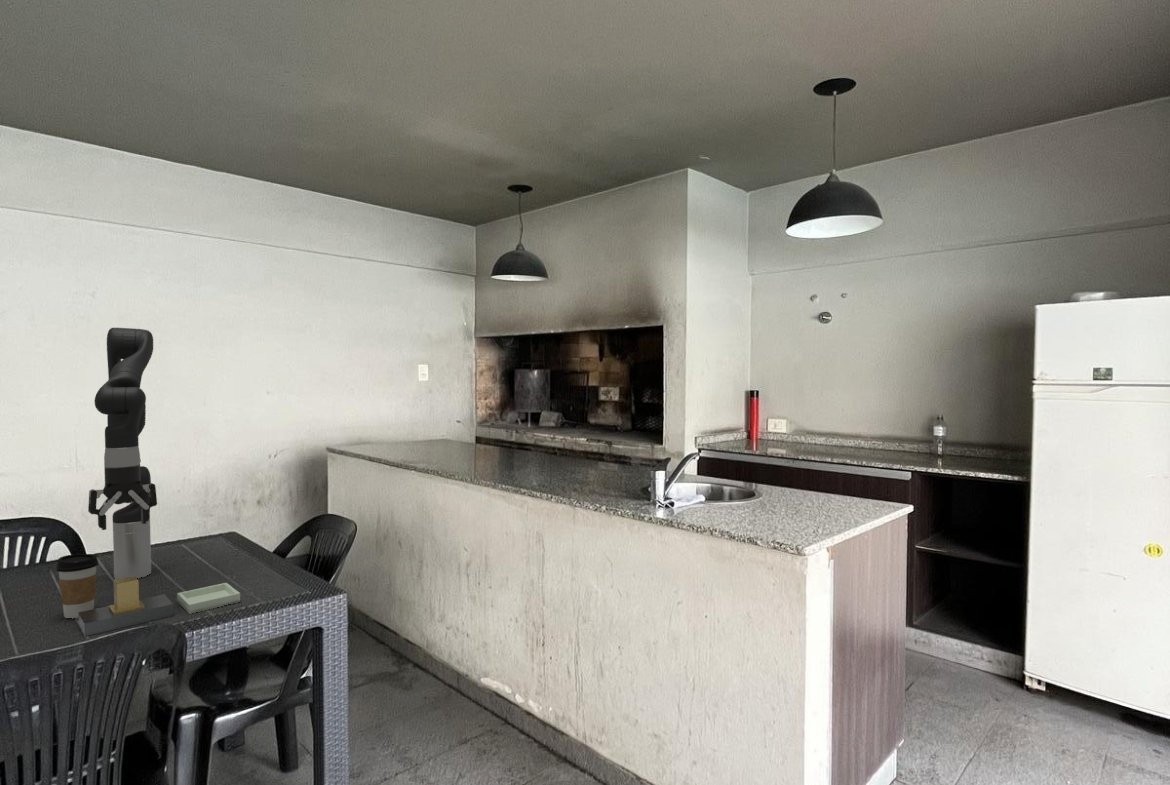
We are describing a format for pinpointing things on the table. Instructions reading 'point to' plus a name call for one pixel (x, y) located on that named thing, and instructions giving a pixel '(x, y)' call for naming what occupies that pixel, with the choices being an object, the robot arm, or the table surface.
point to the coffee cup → (77, 583)
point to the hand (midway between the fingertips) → (124, 526)
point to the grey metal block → (124, 616)
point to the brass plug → (126, 595)
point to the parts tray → (208, 598)
